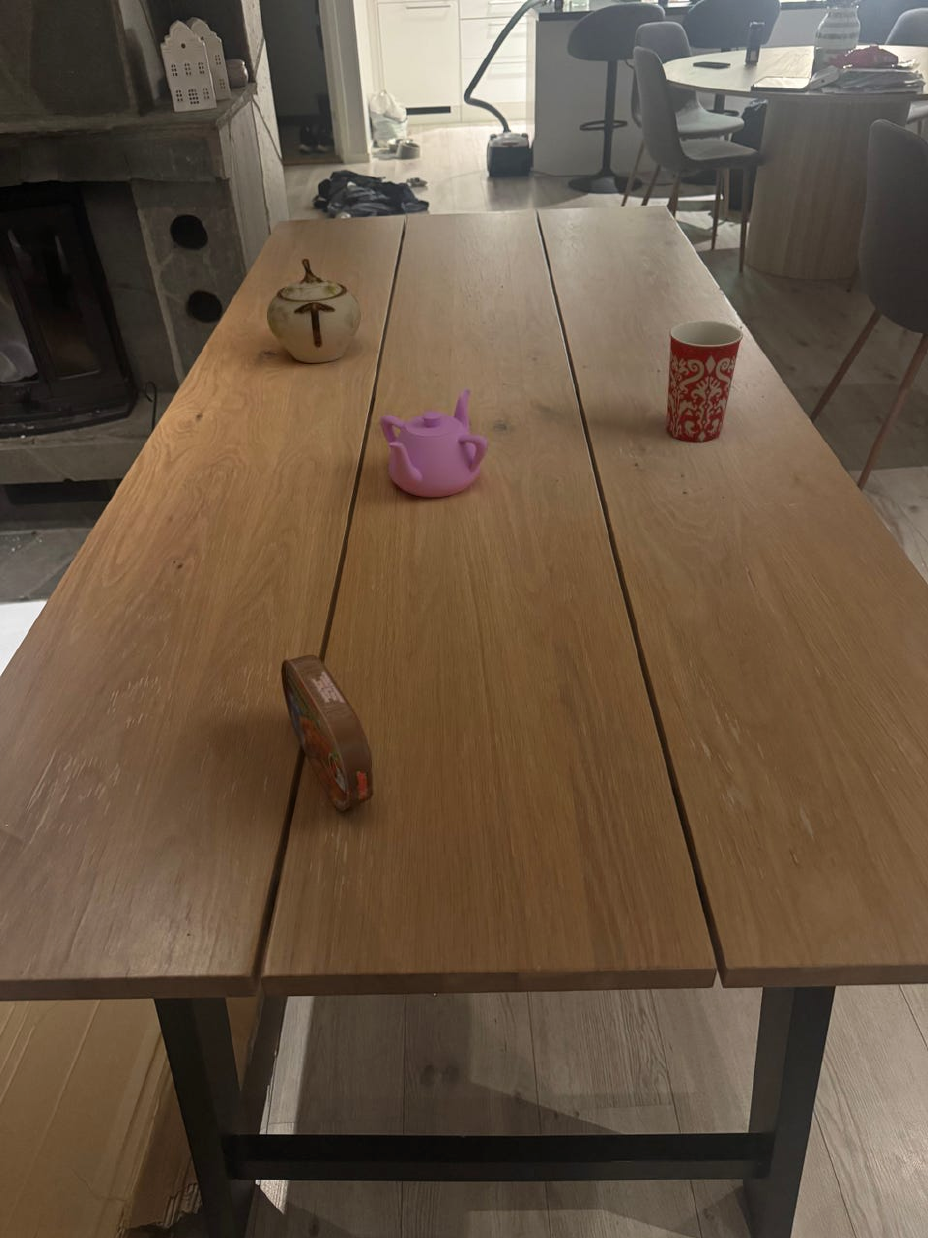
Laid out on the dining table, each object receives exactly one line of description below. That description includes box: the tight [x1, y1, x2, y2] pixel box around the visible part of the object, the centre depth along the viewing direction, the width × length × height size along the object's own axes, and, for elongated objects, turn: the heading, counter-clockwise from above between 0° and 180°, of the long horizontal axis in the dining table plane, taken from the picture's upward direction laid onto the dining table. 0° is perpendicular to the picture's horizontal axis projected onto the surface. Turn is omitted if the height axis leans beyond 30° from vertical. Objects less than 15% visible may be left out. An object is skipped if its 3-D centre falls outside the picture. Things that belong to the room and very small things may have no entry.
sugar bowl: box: [266, 258, 362, 364], centre depth 148 cm, size 20×15×15 cm
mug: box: [665, 320, 744, 443], centre depth 122 cm, size 13×9×14 cm
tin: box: [280, 654, 375, 812], centre depth 74 cm, size 15×3×8 cm, turn 27°
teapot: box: [380, 389, 489, 498], centre depth 114 cm, size 12×14×9 cm
